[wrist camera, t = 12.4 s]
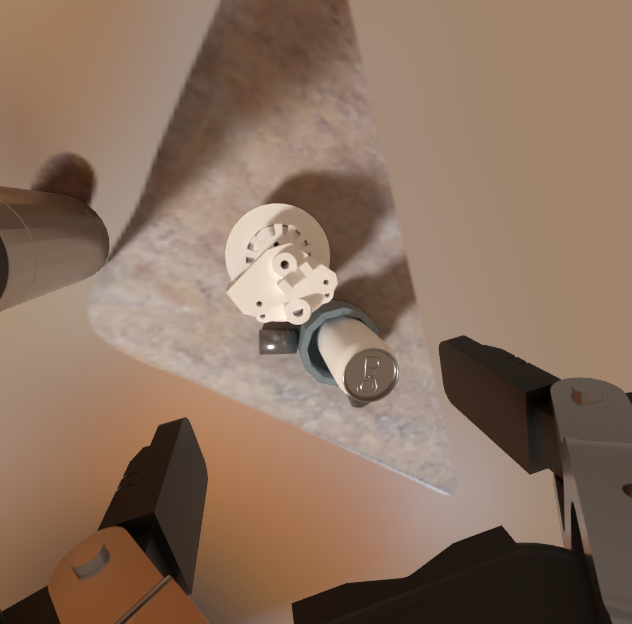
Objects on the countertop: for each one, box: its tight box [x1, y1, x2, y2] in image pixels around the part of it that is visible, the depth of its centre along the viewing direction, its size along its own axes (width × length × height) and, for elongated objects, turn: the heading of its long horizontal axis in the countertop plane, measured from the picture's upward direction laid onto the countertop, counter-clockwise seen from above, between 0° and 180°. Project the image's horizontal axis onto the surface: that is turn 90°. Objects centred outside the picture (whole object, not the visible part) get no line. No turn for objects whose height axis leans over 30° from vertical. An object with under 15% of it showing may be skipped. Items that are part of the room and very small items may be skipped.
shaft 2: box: [347, 395, 370, 407], centre depth 47 cm, size 4×3×3 cm
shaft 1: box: [259, 329, 297, 355], centre depth 44 cm, size 4×3×3 cm
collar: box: [297, 300, 380, 387], centre depth 44 cm, size 10×10×4 cm
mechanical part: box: [225, 203, 338, 325], centre depth 37 cm, size 11×12×12 cm
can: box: [316, 315, 399, 403], centre depth 40 cm, size 6×6×12 cm
